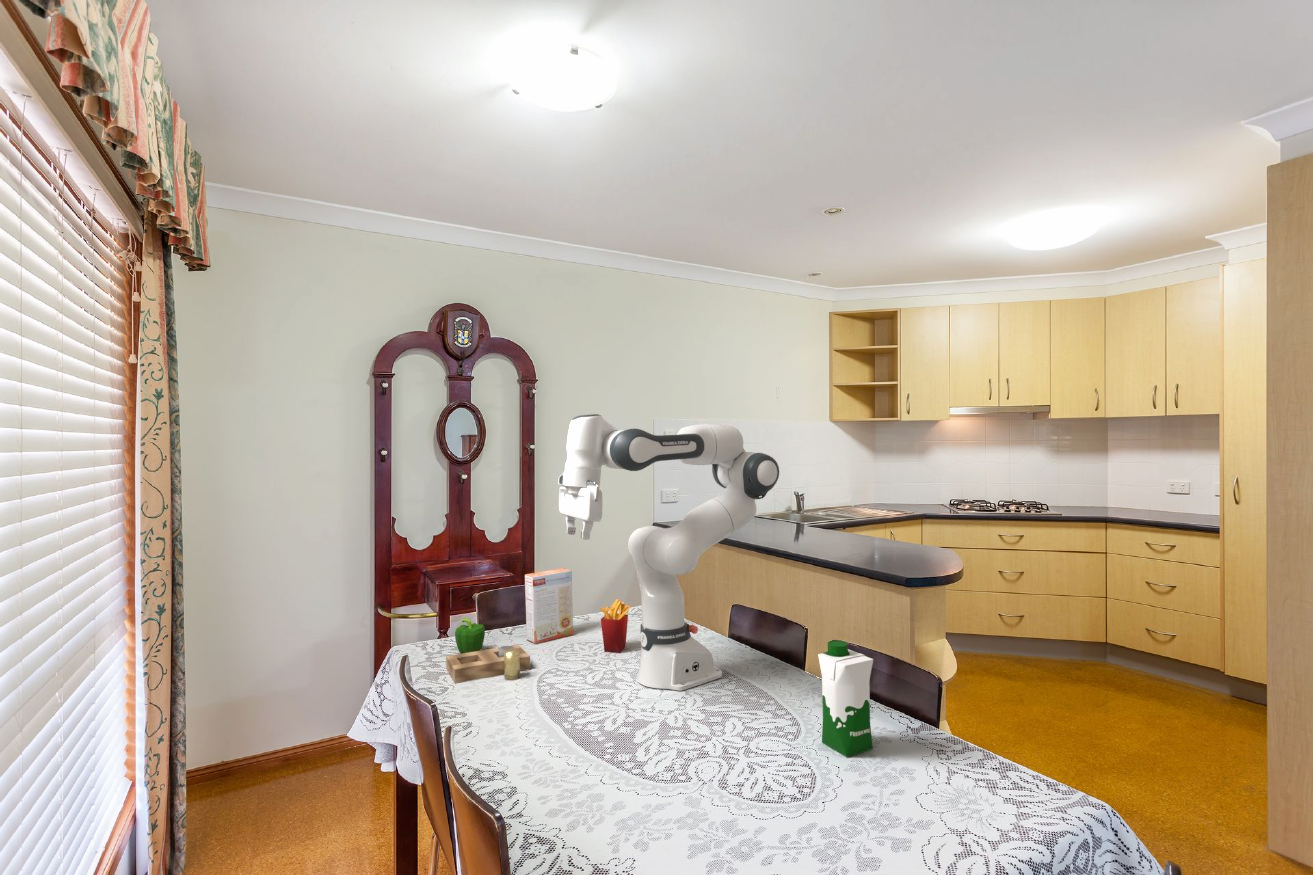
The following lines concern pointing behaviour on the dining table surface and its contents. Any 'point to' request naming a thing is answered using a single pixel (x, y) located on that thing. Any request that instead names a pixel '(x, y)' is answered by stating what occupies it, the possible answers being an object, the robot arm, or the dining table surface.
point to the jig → (482, 663)
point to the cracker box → (548, 605)
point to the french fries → (615, 627)
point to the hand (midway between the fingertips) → (577, 536)
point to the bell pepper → (469, 637)
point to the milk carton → (846, 699)
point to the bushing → (511, 664)
